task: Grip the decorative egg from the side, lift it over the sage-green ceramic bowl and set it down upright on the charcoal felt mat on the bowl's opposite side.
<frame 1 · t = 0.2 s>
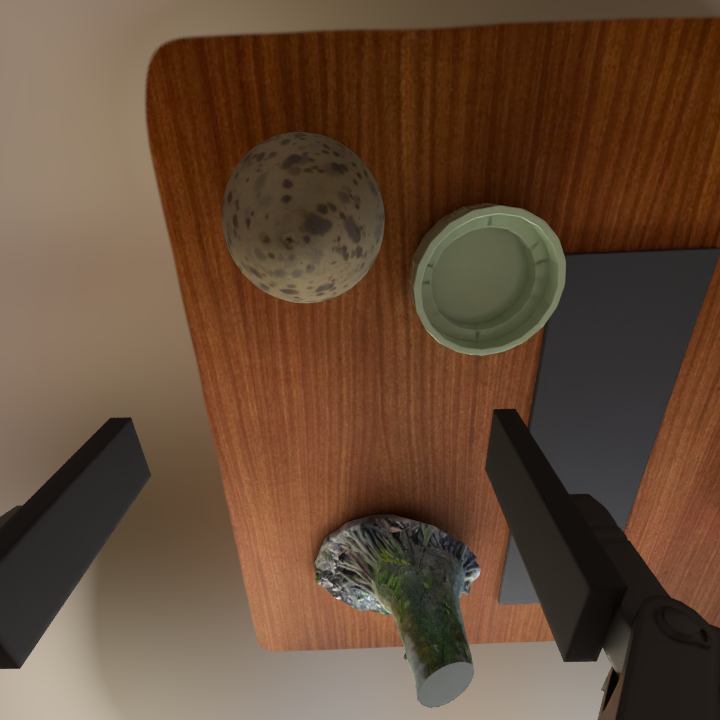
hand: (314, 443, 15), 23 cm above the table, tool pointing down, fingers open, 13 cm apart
mat: (581, 464, 45), on the table
bowl: (475, 275, 35), on the table
decorative egg: (314, 213, 33), on the table
tree stump: (393, 556, 51), on the table
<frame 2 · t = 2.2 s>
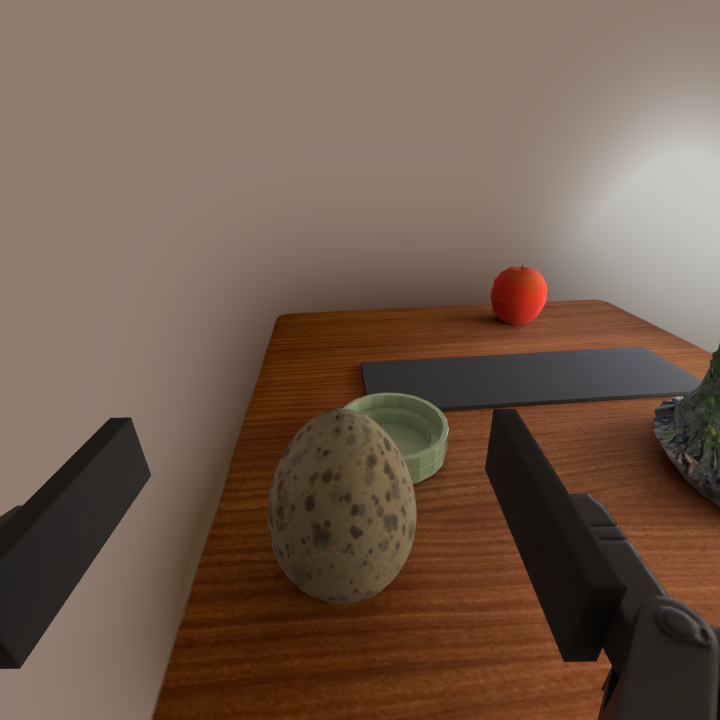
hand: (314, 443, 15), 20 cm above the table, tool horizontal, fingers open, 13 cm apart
apple: (513, 321, 80), on the table
mat: (524, 378, 59), on the table
bowl: (390, 450, 45), on the table
decorative egg: (345, 570, 32), on the table
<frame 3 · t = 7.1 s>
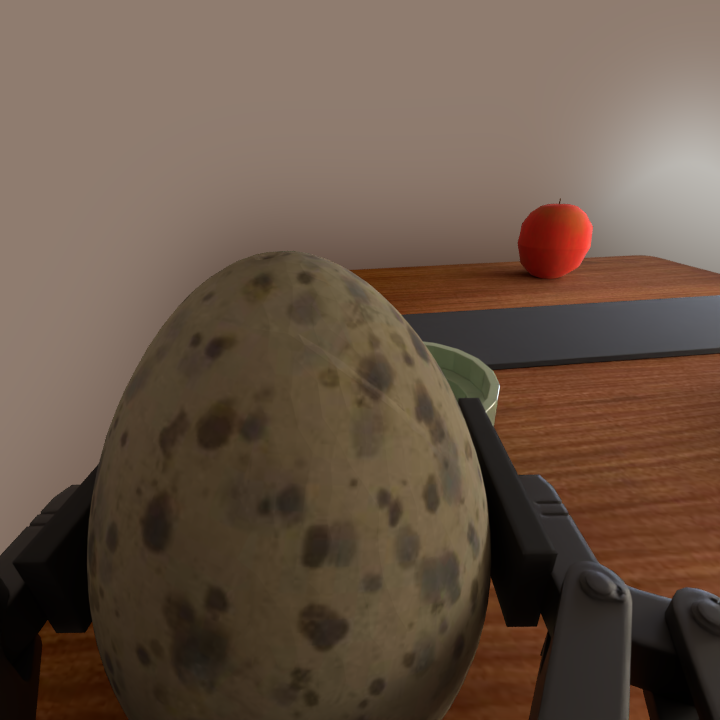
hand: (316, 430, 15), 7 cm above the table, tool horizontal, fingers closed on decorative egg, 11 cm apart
apple: (546, 276, 63), on the table
mat: (582, 331, 42), on the table
bowl: (401, 425, 28), on the table
decorative egg: (321, 659, 15), on the table, touching gripper
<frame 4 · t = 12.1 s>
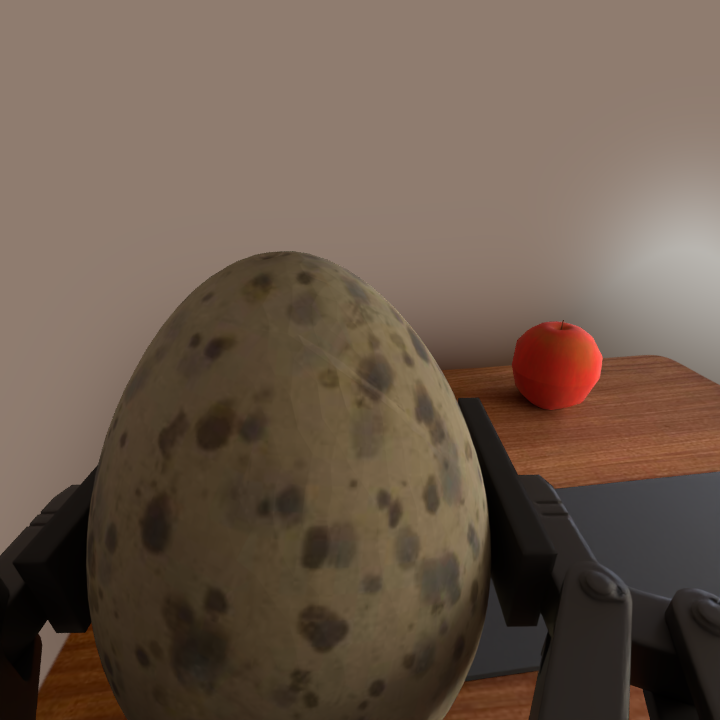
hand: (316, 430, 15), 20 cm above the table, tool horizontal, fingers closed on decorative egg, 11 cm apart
apple: (546, 401, 53), on the table
mat: (596, 557, 32), on the table
decorative egg: (321, 659, 15), point 12 cm above the table, touching gripper
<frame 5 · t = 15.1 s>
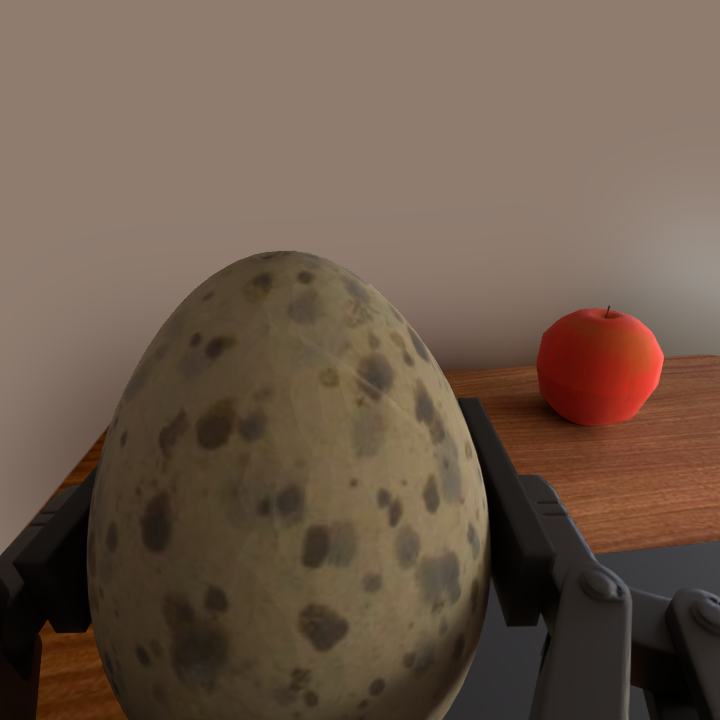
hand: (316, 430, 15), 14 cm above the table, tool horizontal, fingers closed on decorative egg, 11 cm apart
apple: (580, 413, 40), on the table
mat: (696, 686, 19), on the table
decorative egg: (321, 659, 15), point 6 cm above the table, touching gripper
when the fingers open (8 cm above the table, at t = 17.4 s): decorative egg stays where it is, resting on mat.
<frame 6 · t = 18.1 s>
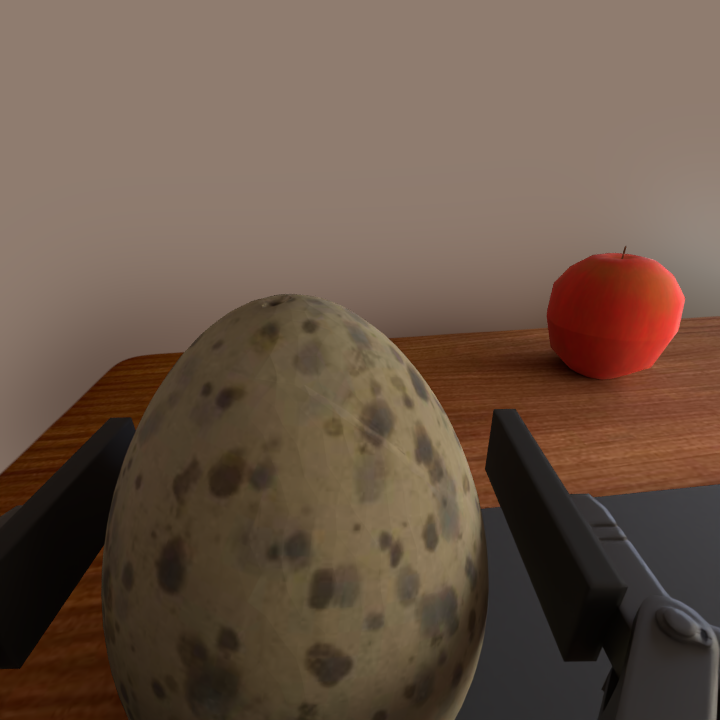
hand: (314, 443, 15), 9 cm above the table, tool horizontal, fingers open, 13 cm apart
apple: (593, 369, 38), on the table
decorative egg: (324, 674, 15), resting on mat
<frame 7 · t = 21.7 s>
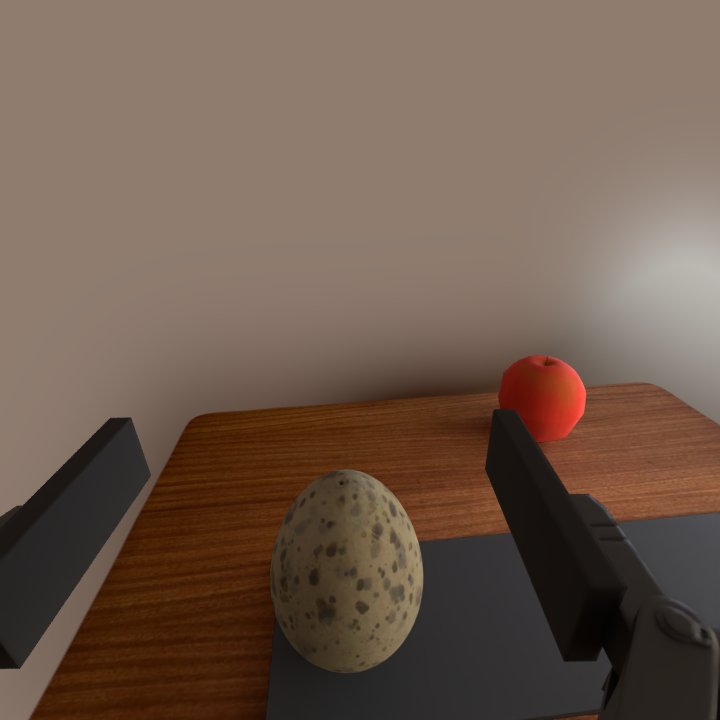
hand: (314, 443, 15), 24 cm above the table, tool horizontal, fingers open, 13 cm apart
apple: (532, 432, 54), on the table
mat: (566, 605, 33), on the table
decorative egg: (350, 627, 31), resting on mat
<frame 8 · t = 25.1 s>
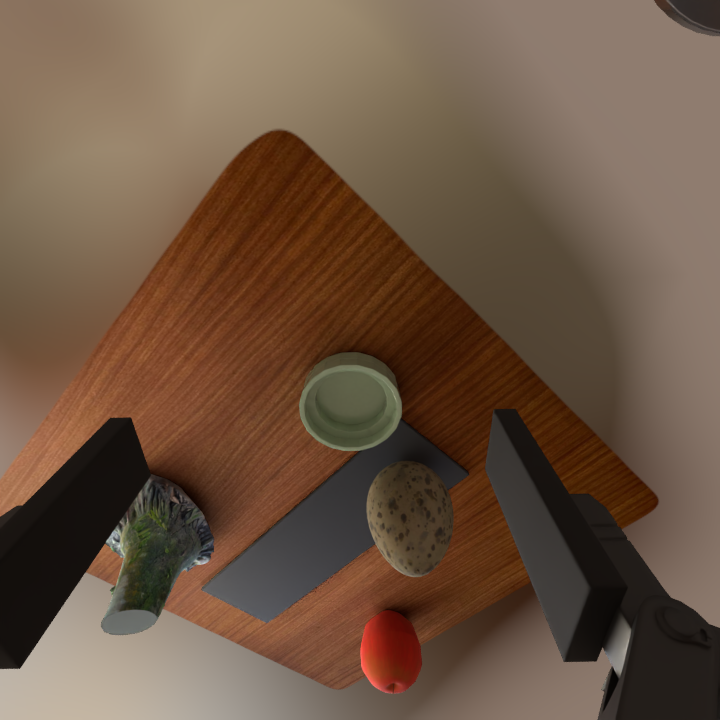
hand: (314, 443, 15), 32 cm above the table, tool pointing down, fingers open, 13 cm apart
apple: (388, 617, 72), on the table
mat: (322, 534, 62), on the table
bowl: (351, 393, 50), on the table
decorative egg: (404, 472, 56), resting on mat
tree stump: (155, 514, 60), on the table
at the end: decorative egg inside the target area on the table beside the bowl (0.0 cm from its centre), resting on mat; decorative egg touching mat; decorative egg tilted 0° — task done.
